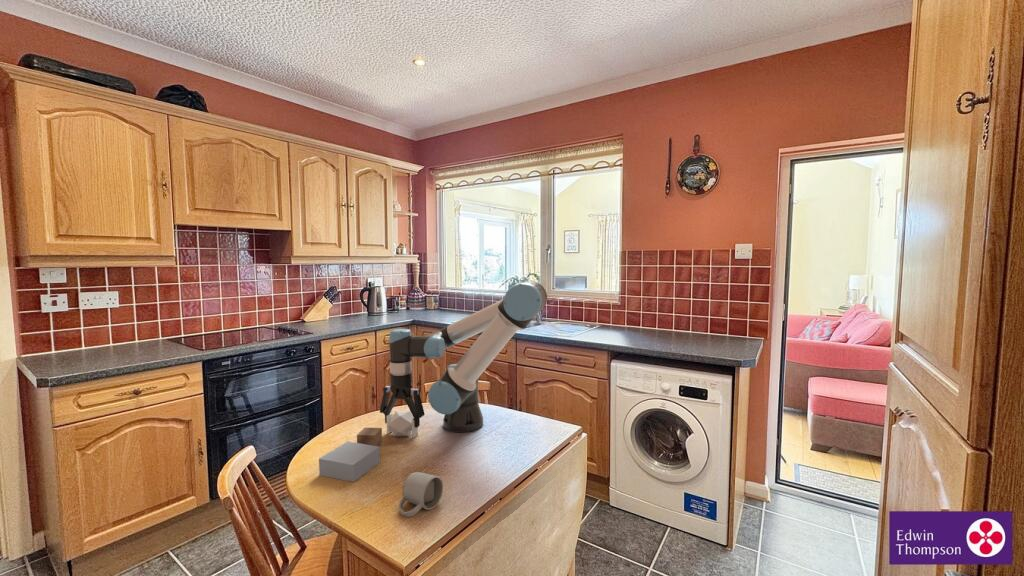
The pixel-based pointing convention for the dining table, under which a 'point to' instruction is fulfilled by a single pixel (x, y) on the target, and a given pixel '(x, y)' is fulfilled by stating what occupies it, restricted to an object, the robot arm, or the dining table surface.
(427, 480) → the ceramic mug
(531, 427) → the dining table surface
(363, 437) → the walnut cube
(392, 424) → the die
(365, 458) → the plinth
